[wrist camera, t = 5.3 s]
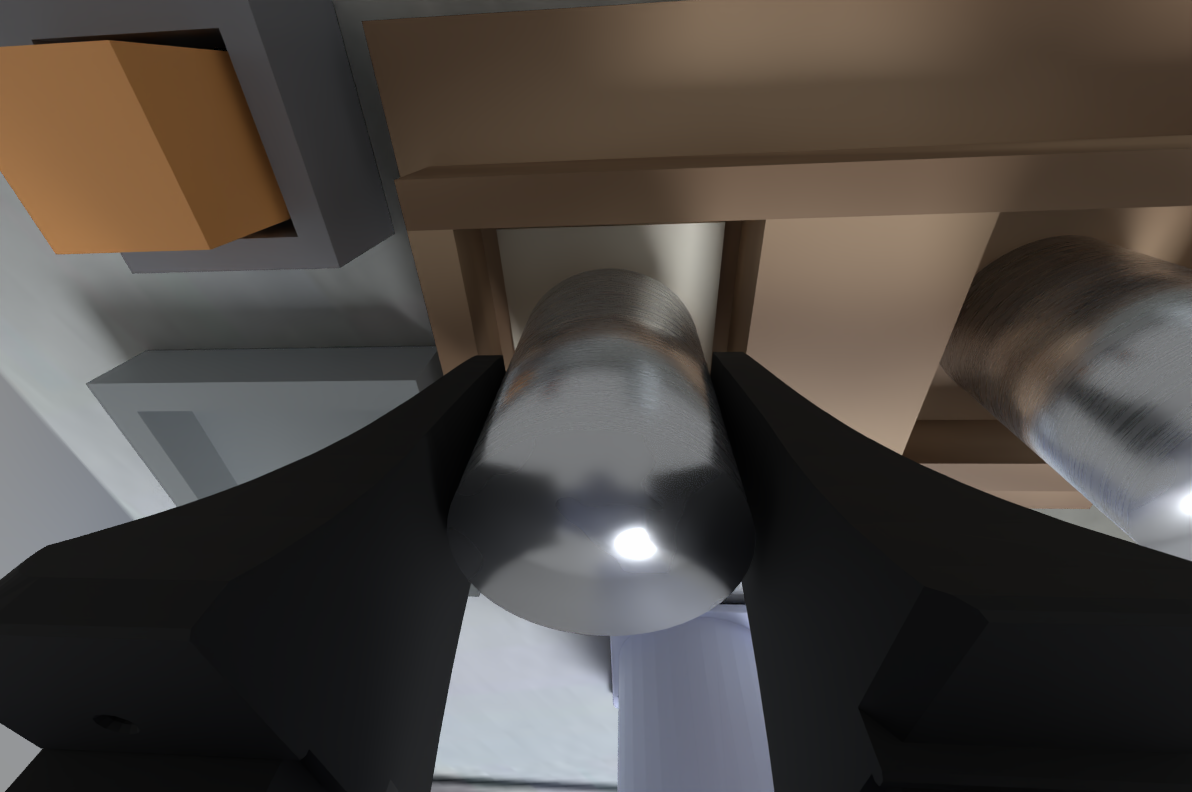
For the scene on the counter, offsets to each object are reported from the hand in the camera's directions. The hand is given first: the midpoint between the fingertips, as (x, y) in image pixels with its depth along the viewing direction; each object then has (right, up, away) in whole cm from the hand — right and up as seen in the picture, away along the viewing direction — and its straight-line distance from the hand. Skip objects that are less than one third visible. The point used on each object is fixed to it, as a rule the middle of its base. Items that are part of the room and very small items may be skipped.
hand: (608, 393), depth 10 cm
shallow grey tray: (-10, -3, +8) cm, 13 cm away
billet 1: (0, +1, +2) cm, 2 cm away
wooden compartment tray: (+6, +2, +3) cm, 7 cm away
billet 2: (+11, +2, +2) cm, 12 cm away
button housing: (-8, +7, +2) cm, 11 cm away
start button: (-9, +5, 0) cm, 10 cm away
